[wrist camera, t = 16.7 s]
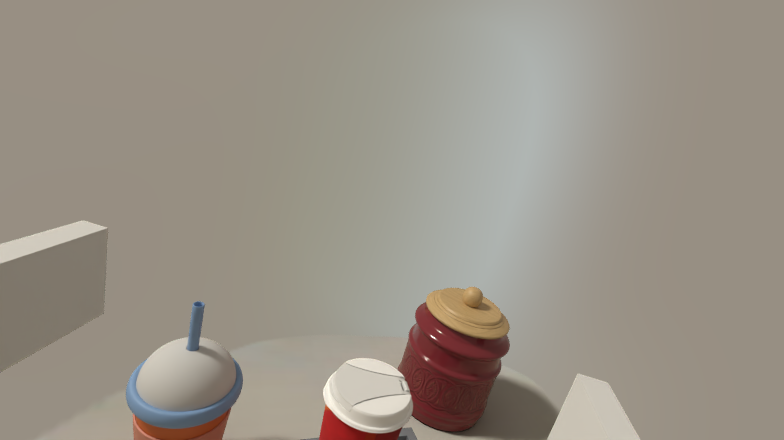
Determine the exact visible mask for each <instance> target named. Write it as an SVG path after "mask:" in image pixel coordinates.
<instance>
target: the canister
mask: <svg viewBox="0 0 784 440" xmlns="http://www.w3.org/2000/svg"><path fill="white" fill-rule="evenodd" d="M415 318H416V322H417V323H416V324H415V325H414V326H413V327H412V328H411V329H410V332H409V339H408V343H407V346H406V349H405V352H404V355H403V358H402V361H401V363H400V365H399V367H398V371H399V372H400V373H401V374H402V375H403V376H404V377H405V381H406V382H407V384H408V387H409V389H410V394H411V396H412V397H411V398H412V402H413V411H412V415H413V416H414V417H415V418H416V419H418V420H419V421H421V422H423V423H425V424H427V425H429V426H431V427H433V428H436V429H440V430H444V431H453V432H455V431H463V430H467V429H469V428H471V427H472V426H474V425H475V424H476V423H477V421H478V419H479V418H480V417H481V416H482V414H483V412H484V410H485V408H486V404H487V399H488V396H489V394H490V391H491V389H492V386H493V384H494V381H495V379H496V377H497V376H498V374H499V373H500V370H501V360H500V359H501V357H503V356H504V355H506V354H507V352H508V350H509V347H510V344H509V339H508V337H507V335H506V334H507V333H508V331H509V323H508V321H507V319H506V317H505V316H504V315H503V314H502V313H501V312H500V310H499V308H498V307H497V306H496V305H495V304H494V303H492V302H491V301H490V300H488V299H487V298H485V297H483V294H482V292H481V291H480V290H479V289H478V288H476V287H469V288H467V289H466V290H464V289H459V288H447V289H443V290H437V291H433V292H432V293H430V294H429V295H428V296H427V299H426V302H425V303H423V304H421V305H420V306H419V307H418V308H417V310H416V313H415Z"/></svg>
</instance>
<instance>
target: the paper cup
mask: <svg viewBox="0 0 784 440" xmlns="http://www.w3.org/2000/svg"><path fill="white" fill-rule="evenodd" d="M323 396H324V400H325V403H326V406H325V411H324V416H323V422H322V427H321V432H320V437H319V440H397V439H398V437H399V434H400V432H401V430H402V427H403V426H404V425H405V424H406V423H407V422H408V421H409V419H410V417H411V415H412V411H413V402H412V398H411V397H412V396H411V394H410V389H409V387H408V384H407V382H406V381H405V377H404V376H403V375H402V374H401V373H400V372H399V371H398V370H397V369H395V368H394V367H392V366H391V365H389V364H387V363H385V362H382V361H379V360H375V359H370V358H357V359H352V360H349V361H346V362H345V363H344V364H343V365H342V366H341V367H340V368H339V369H338V370H337V371H336V372H335V373H334V374H332V375H331V377H330V378H329V379H328V381H327V383H326V385H325V387H324V389H323Z"/></svg>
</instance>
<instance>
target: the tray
mask: <svg viewBox="0 0 784 440" xmlns="http://www.w3.org/2000/svg"><path fill="white" fill-rule="evenodd" d="M302 440H319V438H311V439H302ZM397 440H417V438H416V436H415V434H414V432H413V430H412V428H402V430H401V432H400V434H399V437H398V439H397Z"/></svg>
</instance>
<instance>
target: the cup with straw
mask: <svg viewBox="0 0 784 440" xmlns="http://www.w3.org/2000/svg"><path fill="white" fill-rule="evenodd" d="M204 306H205V305H204V303H203V302H199V301H198V302H194V303H193V307H192V314H191V322H190V330H189V337H187V338H181V339H177V340H174V341H172V342H169V343H167V344H165V345H164V346H162V347H160V348H159V349H158V350H157V351H155V352H154V353H153V354H152V355H151V356H150V357H149V358H148V359H146V360H145V361H144V362H142V363H141V364H140V365H139V366H138V367H137V368H136V370H135V371H134V372H133V374H132V375H131V377H130V379H129V382H128V384H127V389H126V400H127V403H128V406H129V408H130V410H131V411H132V413H133V430H134V440H222V437H223V434H224V430H225V427H226V424H227V420H228V417H229V414H230V410H231V407H232V406H233V404H234V403H235V402H236V400H237V399H238V397H239V395H240V392H241V389H242V384H243V376H242V371H241V369H240V366H239V365H238V363H237V362H236V361H235V360H234V359H233V358H232V357H231V355H230V354H229V352H228V351H227V350H226V349H225V348H224V347H223V346H222V345H220V344H219V343H217V342H215V341H213V340H210V339H206V338H202V337H200V334H201V326H202V319H203V312H204Z"/></svg>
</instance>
